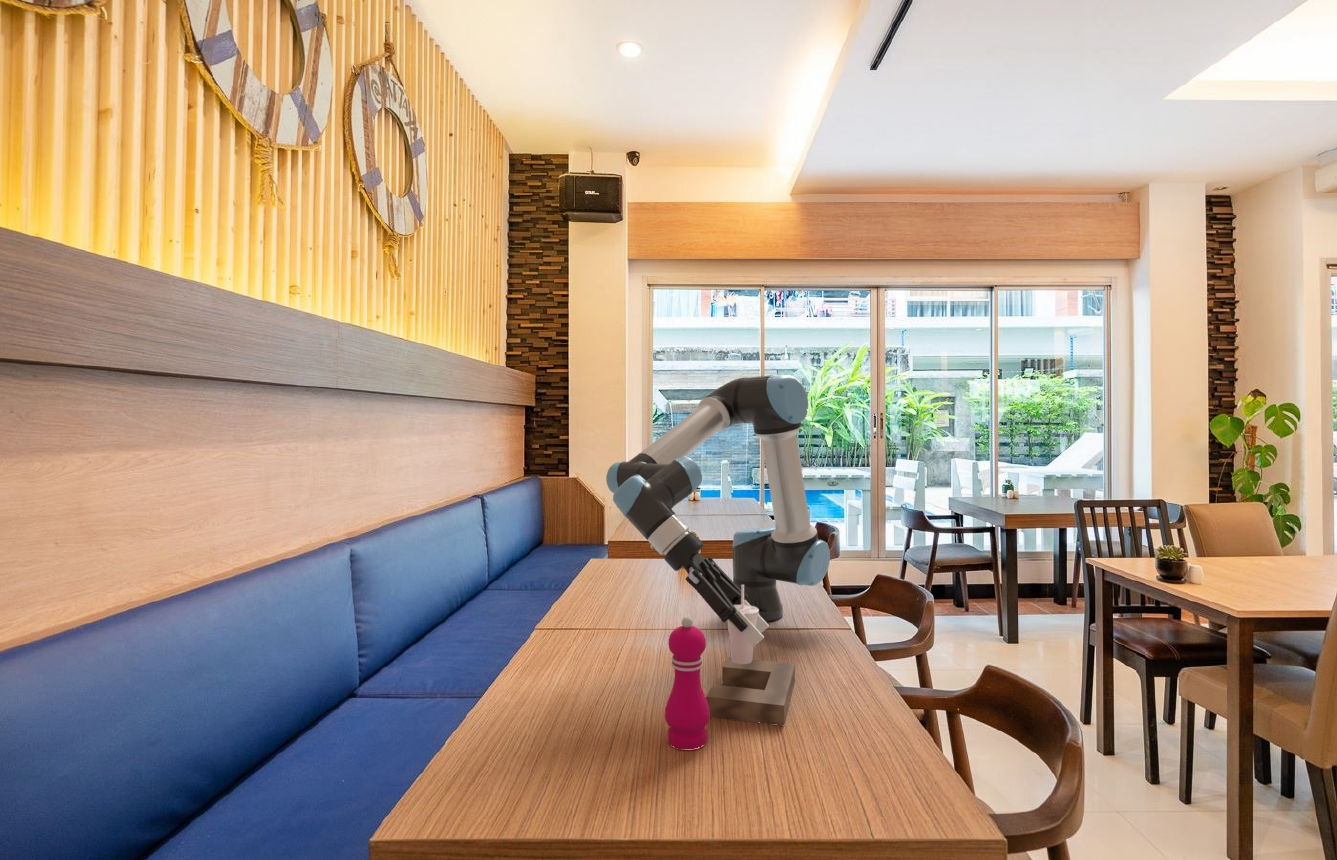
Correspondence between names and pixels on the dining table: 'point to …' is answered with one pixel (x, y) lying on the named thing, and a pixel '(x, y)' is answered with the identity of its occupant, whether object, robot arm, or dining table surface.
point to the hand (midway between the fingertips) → (761, 636)
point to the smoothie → (738, 643)
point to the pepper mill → (687, 689)
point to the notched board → (753, 692)
